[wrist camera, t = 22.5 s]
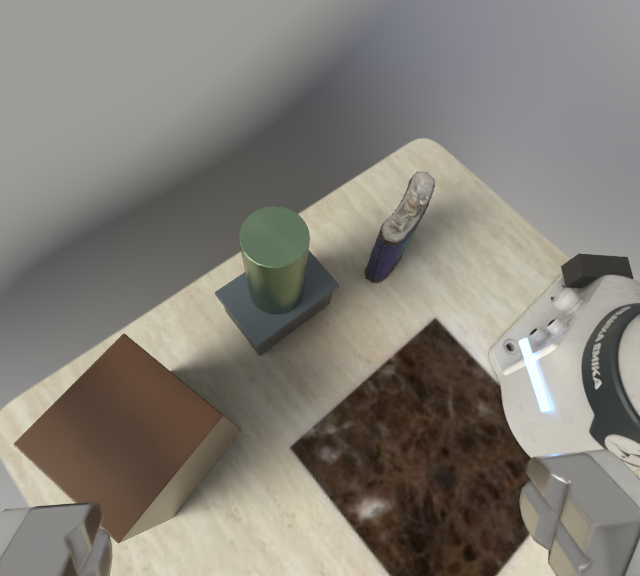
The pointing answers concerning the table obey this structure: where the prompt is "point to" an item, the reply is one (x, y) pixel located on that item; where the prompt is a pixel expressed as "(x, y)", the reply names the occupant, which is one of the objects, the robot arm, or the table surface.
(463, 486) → the table surface
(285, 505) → the table surface
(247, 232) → the tin
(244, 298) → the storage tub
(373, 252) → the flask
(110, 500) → the block
